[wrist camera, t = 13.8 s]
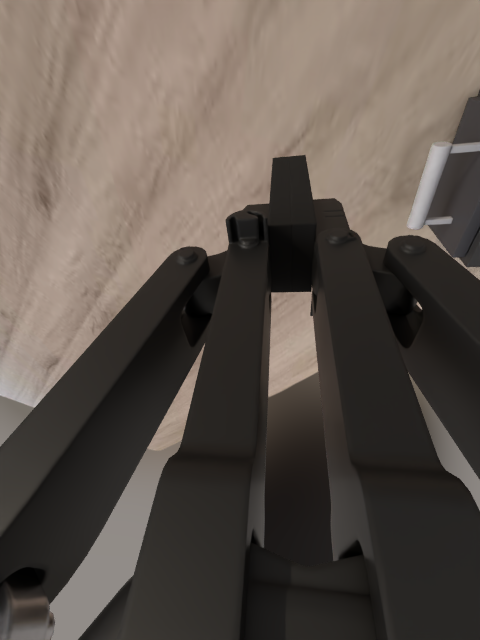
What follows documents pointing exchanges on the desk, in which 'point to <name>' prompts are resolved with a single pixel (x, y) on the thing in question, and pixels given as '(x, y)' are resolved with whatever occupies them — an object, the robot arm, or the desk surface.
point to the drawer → (452, 186)
